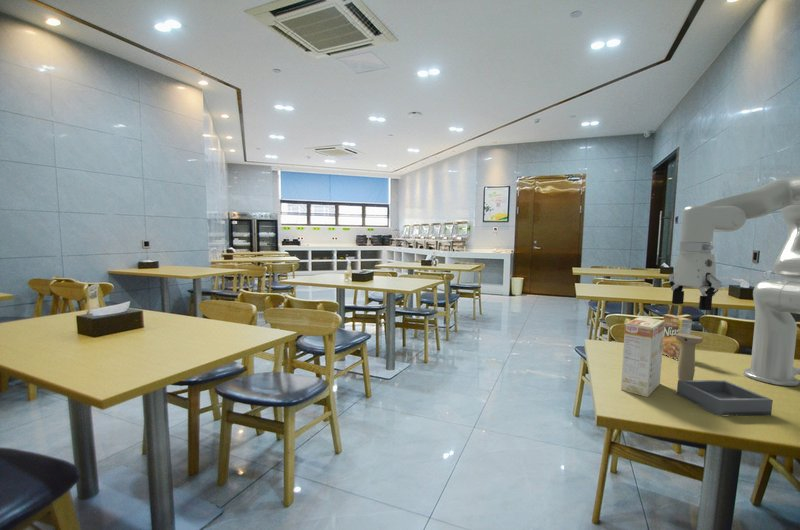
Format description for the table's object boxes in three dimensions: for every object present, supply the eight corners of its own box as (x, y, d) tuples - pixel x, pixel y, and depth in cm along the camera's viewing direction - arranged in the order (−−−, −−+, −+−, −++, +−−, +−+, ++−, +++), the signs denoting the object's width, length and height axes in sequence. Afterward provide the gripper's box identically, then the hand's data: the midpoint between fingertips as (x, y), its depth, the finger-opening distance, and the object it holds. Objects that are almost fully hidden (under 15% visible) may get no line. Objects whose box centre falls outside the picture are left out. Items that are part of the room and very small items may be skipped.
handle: (695, 390, 110) (699, 339, 109) (669, 383, 115) (673, 334, 114) (700, 387, 113) (704, 337, 112) (675, 380, 118) (679, 332, 117)
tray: (723, 394, 108) (724, 380, 108) (771, 415, 95) (772, 399, 95) (676, 394, 107) (677, 380, 107) (718, 416, 94) (719, 400, 94)
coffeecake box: (634, 377, 120) (638, 316, 118) (661, 384, 115) (666, 320, 113) (619, 389, 109) (623, 322, 108) (648, 397, 104) (653, 327, 103)
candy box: (659, 353, 146) (662, 314, 145) (669, 353, 147) (672, 314, 146) (678, 361, 138) (681, 319, 137) (689, 361, 138) (692, 319, 137)
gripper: (735, 249, 103) (729, 312, 104) (683, 248, 120) (679, 302, 121) (709, 249, 102) (703, 312, 103) (661, 247, 119) (656, 301, 121)
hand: (690, 306), depth 112 cm, fingers open, 9 cm apart
